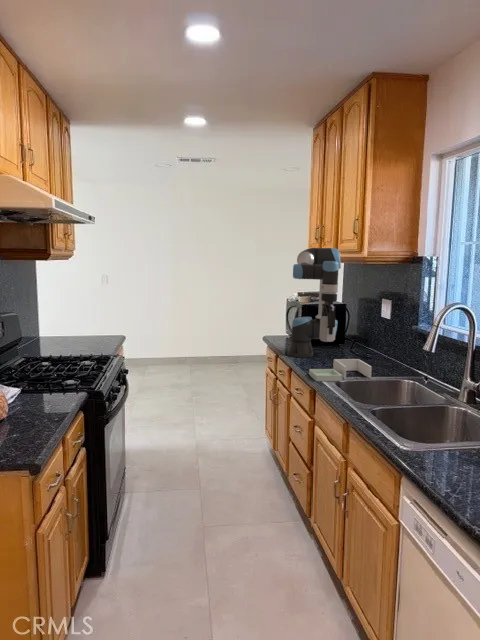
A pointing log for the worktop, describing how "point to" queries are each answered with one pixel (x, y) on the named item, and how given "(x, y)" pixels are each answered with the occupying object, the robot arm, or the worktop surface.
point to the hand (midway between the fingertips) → (327, 339)
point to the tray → (325, 375)
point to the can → (325, 329)
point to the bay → (352, 367)
